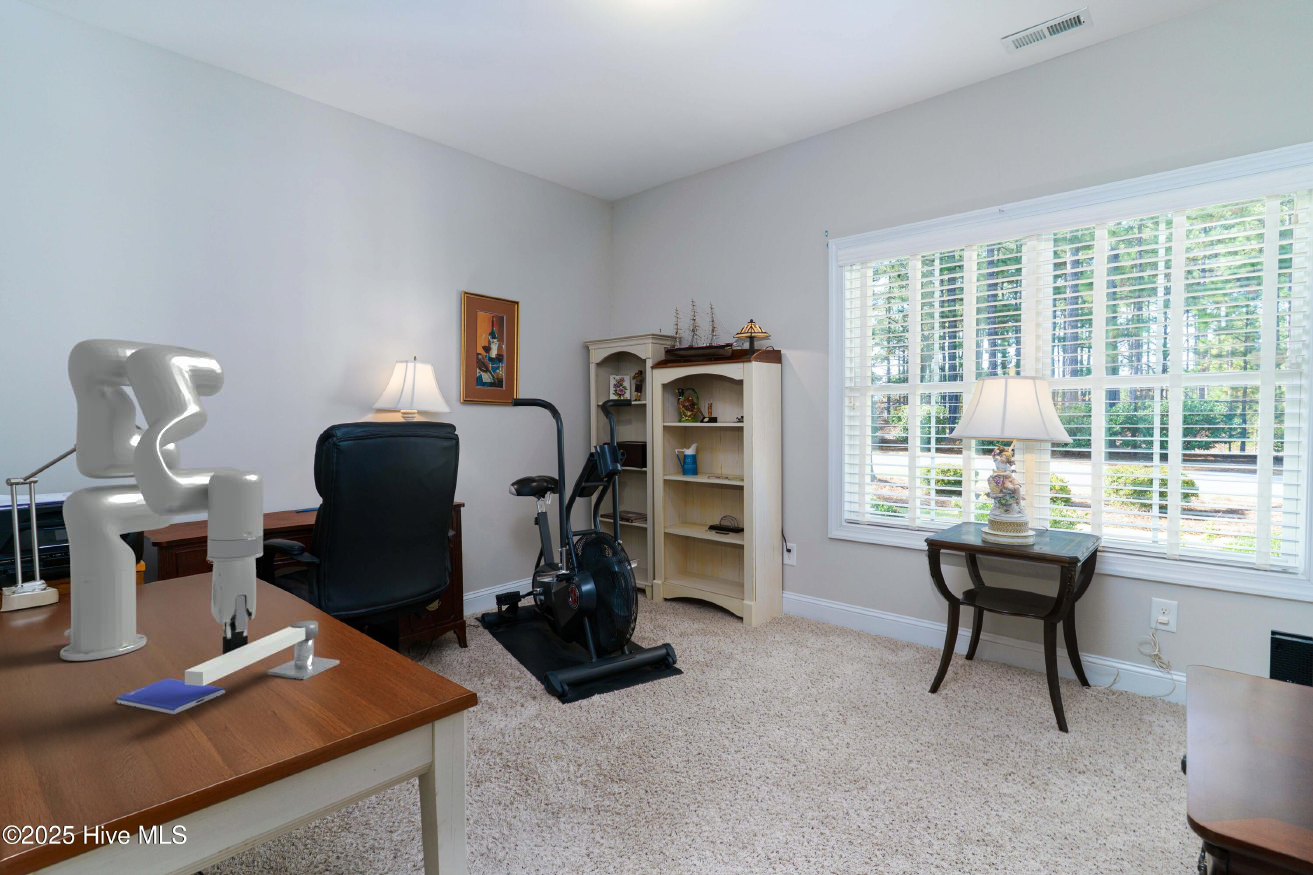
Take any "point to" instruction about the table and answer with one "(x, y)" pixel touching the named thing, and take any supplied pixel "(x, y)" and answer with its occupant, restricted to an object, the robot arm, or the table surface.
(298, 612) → the table surface
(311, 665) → the metal stand base
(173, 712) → the hard drive
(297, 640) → the bar
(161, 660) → the table surface
